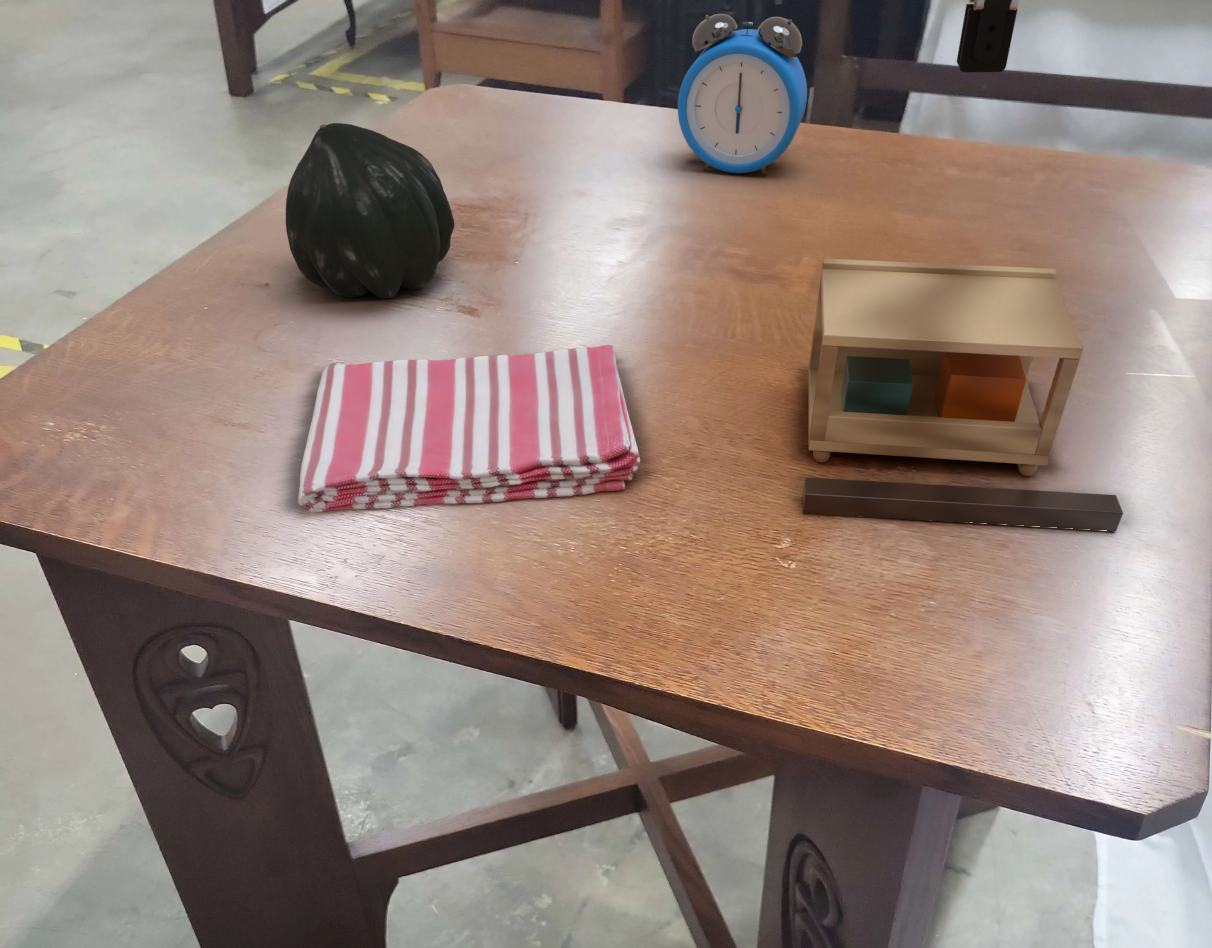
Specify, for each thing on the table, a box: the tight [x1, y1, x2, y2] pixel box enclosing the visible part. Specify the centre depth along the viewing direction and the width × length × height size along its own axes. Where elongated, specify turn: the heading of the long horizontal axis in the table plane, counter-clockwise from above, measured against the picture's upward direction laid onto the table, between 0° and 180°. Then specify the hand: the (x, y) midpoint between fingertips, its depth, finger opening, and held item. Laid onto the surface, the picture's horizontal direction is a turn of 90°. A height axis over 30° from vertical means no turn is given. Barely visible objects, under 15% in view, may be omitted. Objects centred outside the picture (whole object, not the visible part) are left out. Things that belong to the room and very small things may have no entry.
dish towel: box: [297, 344, 641, 513], centre depth 77 cm, size 17×23×4 cm
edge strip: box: [801, 476, 1124, 532], centre depth 69 cm, size 20×2×2 cm, turn 83°
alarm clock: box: [677, 13, 808, 176], centre depth 113 cm, size 13×6×15 cm, turn 74°
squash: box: [285, 122, 455, 299], centre depth 93 cm, size 14×15×15 cm
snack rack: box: [807, 258, 1084, 477], centre depth 74 cm, size 16×11×10 cm
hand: (980, 68), depth 76 cm, fingers closed
